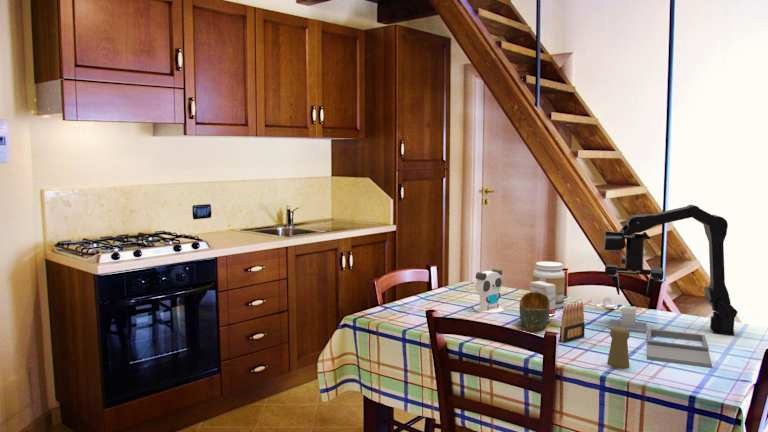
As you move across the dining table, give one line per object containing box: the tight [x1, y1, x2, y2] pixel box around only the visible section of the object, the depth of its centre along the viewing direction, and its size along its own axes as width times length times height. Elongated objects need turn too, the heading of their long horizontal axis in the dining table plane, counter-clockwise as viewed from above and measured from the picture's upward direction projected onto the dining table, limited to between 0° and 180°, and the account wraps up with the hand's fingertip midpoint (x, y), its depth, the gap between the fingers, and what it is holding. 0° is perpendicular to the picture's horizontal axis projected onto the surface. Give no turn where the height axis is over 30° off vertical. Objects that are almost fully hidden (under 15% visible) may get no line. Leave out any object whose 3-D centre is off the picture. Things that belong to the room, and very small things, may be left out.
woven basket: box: [519, 291, 550, 332], centre depth 219 cm, size 13×20×10 cm, turn 136°
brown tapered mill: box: [606, 327, 630, 370], centre depth 179 cm, size 6×6×11 cm
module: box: [620, 307, 637, 328], centre depth 219 cm, size 4×7×5 cm, turn 157°
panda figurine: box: [473, 268, 505, 314], centre depth 240 cm, size 12×11×15 cm
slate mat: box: [608, 318, 647, 334], centre depth 219 cm, size 12×12×1 cm
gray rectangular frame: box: [646, 328, 713, 368], centre depth 194 cm, size 17×28×2 cm, turn 157°
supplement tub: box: [532, 261, 566, 310], centre depth 247 cm, size 12×12×17 cm
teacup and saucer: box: [596, 296, 618, 310], centre depth 247 cm, size 9×8×4 cm
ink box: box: [529, 281, 556, 314], centre depth 234 cm, size 9×5×12 cm, turn 33°
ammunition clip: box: [559, 301, 586, 344], centre depth 203 cm, size 11×2×12 cm, turn 127°
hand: (632, 295), depth 219 cm, fingers open, 9 cm apart
